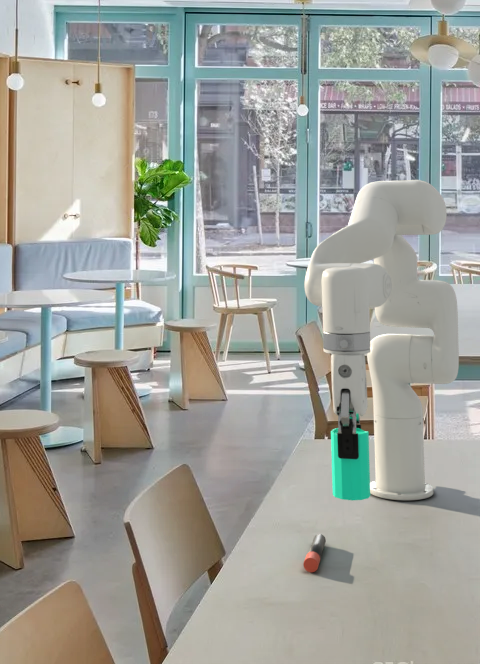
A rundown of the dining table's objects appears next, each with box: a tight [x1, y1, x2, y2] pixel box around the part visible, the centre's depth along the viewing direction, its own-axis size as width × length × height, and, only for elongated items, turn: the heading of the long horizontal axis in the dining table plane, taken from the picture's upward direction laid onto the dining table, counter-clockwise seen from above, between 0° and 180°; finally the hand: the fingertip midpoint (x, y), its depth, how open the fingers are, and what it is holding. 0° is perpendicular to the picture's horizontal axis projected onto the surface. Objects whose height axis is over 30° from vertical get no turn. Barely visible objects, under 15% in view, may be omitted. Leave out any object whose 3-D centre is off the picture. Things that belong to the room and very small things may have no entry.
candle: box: [330, 427, 371, 501], centre depth 167 cm, size 6×6×12 cm
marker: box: [302, 533, 327, 573], centre depth 168 cm, size 14×2×2 cm, turn 162°
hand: (350, 452), depth 167 cm, fingers closed on candle, 6 cm apart
